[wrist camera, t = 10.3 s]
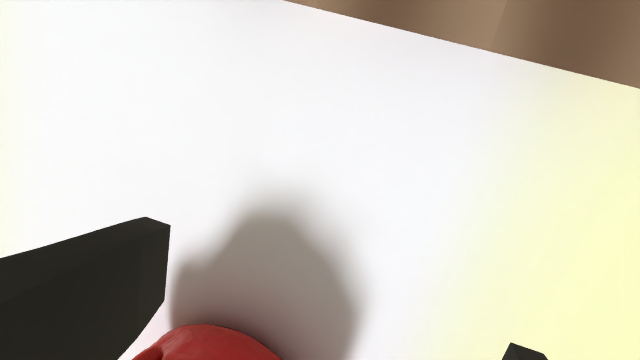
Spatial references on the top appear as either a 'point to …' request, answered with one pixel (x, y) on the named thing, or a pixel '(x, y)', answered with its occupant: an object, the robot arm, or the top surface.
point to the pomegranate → (206, 345)
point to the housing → (520, 29)
